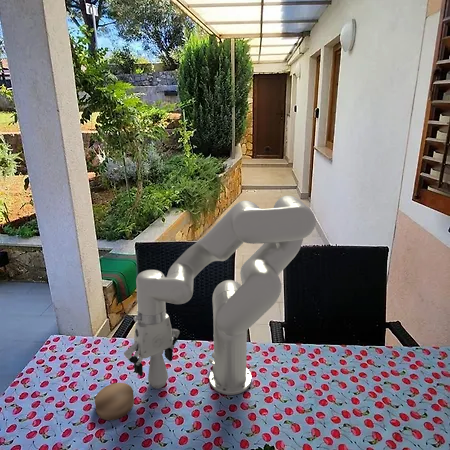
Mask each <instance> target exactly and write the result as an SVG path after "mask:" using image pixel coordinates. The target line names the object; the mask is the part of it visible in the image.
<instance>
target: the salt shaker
mask: <svg viewBox="0 0 450 450" xmlns="http://www.w3.org/2000/svg"><path fill="white" fill-rule="evenodd" d="M164 353H165V350H163V351H161V352H159V353H157V354H155V355H153V356H150V357H149V366H148V375H147V380H148V382H149V384H150V386H151V387H152V388H153V389H161V388H163V387H165V385H166V383H167V382H168V381H167V380H168V379H169V375H168V370H167V367H166V363H165V360H164V356H163V354H164Z"/></svg>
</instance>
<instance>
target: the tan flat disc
mask: <svg viewBox="0 0 450 450" xmlns="http://www.w3.org/2000/svg"><path fill="white" fill-rule="evenodd" d="M134 405H135V395H134V389H133V388H132V386H131V385H129V384H128V383H125V382H114V383H111V384H108V385H106V386H104V387H103V388H101V389H100V390H99V392H98V393H97V394H96V395H95V399H94V406H95V413H96V415H97V417H99V418H100V419H102V420H105V421H115V420H118V419H119V420H120V419H121V418H123V417H125V416H126V415H127V414H129V413H130V412H131V410H132V409H133V407H134Z"/></svg>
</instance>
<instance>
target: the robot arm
mask: <svg viewBox="0 0 450 450" xmlns="http://www.w3.org/2000/svg"><path fill="white" fill-rule="evenodd" d="M316 220H317V219H316V216H315V213H314V211H313V210H312V209H311V208H310V207H309V206H307V205H306V203H304V202H303V201H302V200H301V199H299V198H297V197H296V196H293V195H283V196H281V197H280V198H278V199H277V200H276V201H275V204H274V205H273V207H272V208H271V207H270V208H260V206H259V205H258V204H256V203H254V202H253V201H251V200H240V201H238V202H237V203H236V204H234V206H232V207H231V209H229V210H228V211H227V212H226V213H225V215H224V216H223V217H222V218H221V219H220V220H219V221H218V222H217V223H216V224H215V225H214V226H213V227H212V228H211V229H210V230H209V231H208V232H207V233H206V234H205V235H204V236H203V237H202V238H201V239H198V241H196V242H195V243H194V244H192V245H191V246H190V247H189V248H187V249H185V251H184V252H183V253H182V254H181V255H180V256H179V257H178V258H177V259H176V260H175V261H174V262H173V264H172V265H171V266H170V267H169V269H168V272H167V275H166V276H165V274H164V273H163V272H162V271H160V270H158V269H146V270H143V271H141V272H139V273H138V274H137V276H136V279H135V281H136V304H137V311H136V313H137V314H136V315H135V316H133V320H134V322H135V327H134V337H133V338H134V340H133V341H134V343H132V344H131V346H129V348H127V350H125V351H124V352H123V356H125V358H126V359H127V360H128V361H129V362H130V363H132V364H133V370H134V372H135V373H136V374H138V376H139V377H143V375H144V371H143V369H144V368H143V367H144V366H143V363H142V361H143V359H148V358H150V357H151V356H153V355H155V354H157V353H159V352H161V351H163V350H164V357H165V359H167V360H168V361H169V362H173V356H174V354H173V353H174V352H173V351H174V348H175V344H176V343H177V341H178V338H179V336H180V333H181V331H180V330H179V329H178V328H172V324H171V319H170V316H169V314H168V313H167V309H166V306H167V305H166V303H169V304H174V305H182V304H186V303H188V302H189V301H190V300H191V299H192V297H193V295H194V294H193V293H194V279H195V278H196V277H197V275H199V273H200V272H201V271H202V270H204V268H205V267H207V266H208V265H209V264H212V263H213V262H224V261H227V260H228V259H229V258H230V257H231V256H232V255H233V254H234V253H235V252H236V251H237V250H238V249H239V248H240V247H241V246H242V245H243V244H244V243H246V244H250V245H251V244H252V245H257V244H262V245H261V246H260V247H258V249H257V250H256V251H254V253H253V254H252V255H251V256H250V257H249V258H247V260H246V261H245V262H244V263H243V264H242V265H241V268H240V272H239V275H240V281H241V283H239V282H238V281H236V280H232V279H227V280H223V281H222V282H220V283H219V284H217V285H216V287H215V288H214V291H213V293H212V314H213V316H212V319H213V352H212V354H211V357H209V359H208V363H210V364H211V365H212V370H211V371H210V372H209V385H210V386H211V388H213V390H215V391H216V392H218V393H219V394H223V395H226V396H227V395H228V396H235V395H239V394H241V393H244V392H245V391H247V390H248V389H249V387H250V386H251V383H252V373H251V371H250V370H249V369H248V368H247V355H248V354H247V351H248V350H247V349H248V347H247V345H248V344H247V342H248V340H247V339H248V338H247V337H248V329H250V328H251V327H252V326H254V324H256V323H257V322H258V321H259V320H260V319H261V318H262V317H263V316H264V315H265V314H266V313H267V312H268V311H269V310H270V309H271V308H272V307H273V306H274V305H275V304H276V303H277V302H278V299H279V298H280V296H281V293H282V281H281V279H280V276H279V275H280V274H281V273H282V271H283V270H285V268H286V267H287V266H288V265H289V264H290V263H291V262H292V260H294V258H295V257H296V256H297V254H298V253H299V251H300V250H301V248H302V245H303V241H304V239H305V238H307V237H309V236H310V235H311V234H312V233H313V232H314V230H315V227H316ZM133 353H134V354H133ZM132 354H133V355H132Z"/></svg>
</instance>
